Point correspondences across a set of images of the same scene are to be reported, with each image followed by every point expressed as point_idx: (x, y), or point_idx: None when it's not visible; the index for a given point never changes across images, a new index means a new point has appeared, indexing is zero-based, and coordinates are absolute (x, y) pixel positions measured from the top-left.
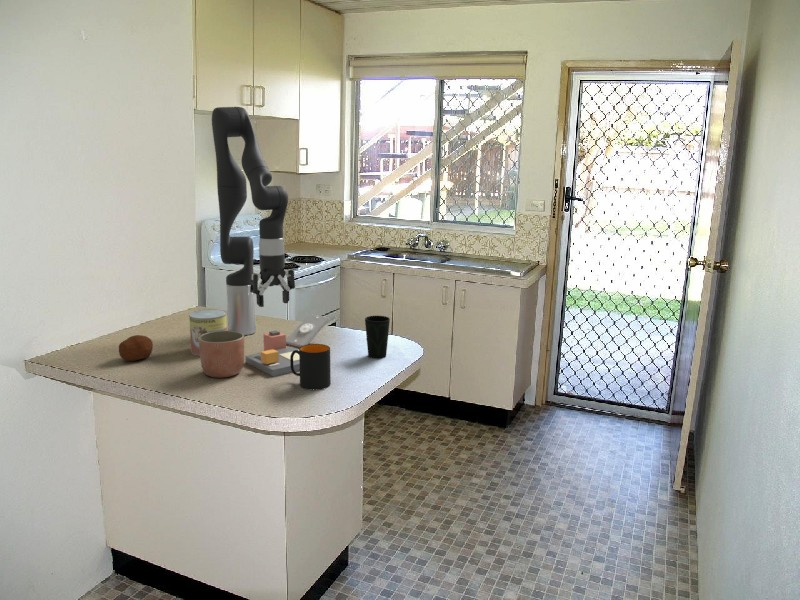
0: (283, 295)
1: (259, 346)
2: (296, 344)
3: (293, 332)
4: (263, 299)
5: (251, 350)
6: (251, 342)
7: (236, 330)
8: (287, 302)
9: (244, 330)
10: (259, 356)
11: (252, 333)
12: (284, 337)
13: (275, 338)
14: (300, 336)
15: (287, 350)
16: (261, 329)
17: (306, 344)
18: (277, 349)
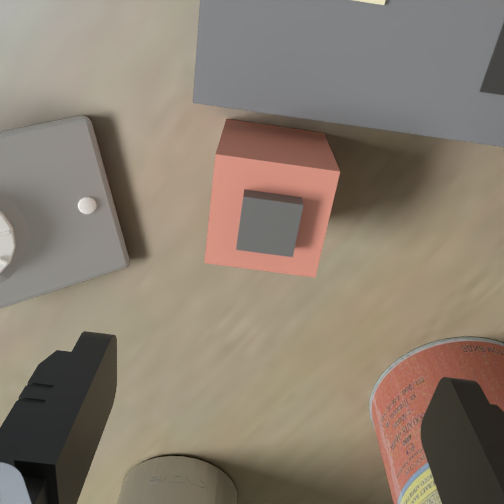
0: (86, 456)
1: (255, 309)
2: (104, 173)
3: (44, 286)
4: (483, 453)
5: (328, 287)
6: (241, 377)
7: (225, 496)
8: (92, 333)
9: (198, 479)
10: (495, 74)
11: (161, 457)
12: (228, 150)
13: (305, 161)
14: (39, 213)
15: (270, 50)
16: (90, 476)
17: (56, 121)
18: (287, 136)
